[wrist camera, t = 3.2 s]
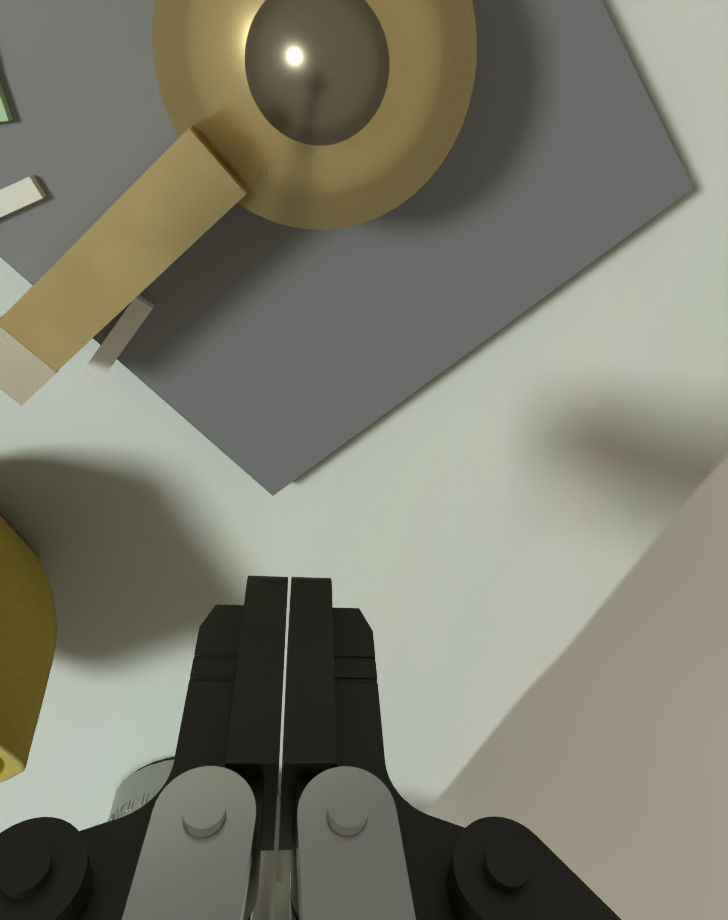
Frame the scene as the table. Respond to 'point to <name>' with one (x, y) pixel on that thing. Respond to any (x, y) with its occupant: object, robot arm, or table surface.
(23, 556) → the flower pot
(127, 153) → the board
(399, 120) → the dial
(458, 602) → the table surface
